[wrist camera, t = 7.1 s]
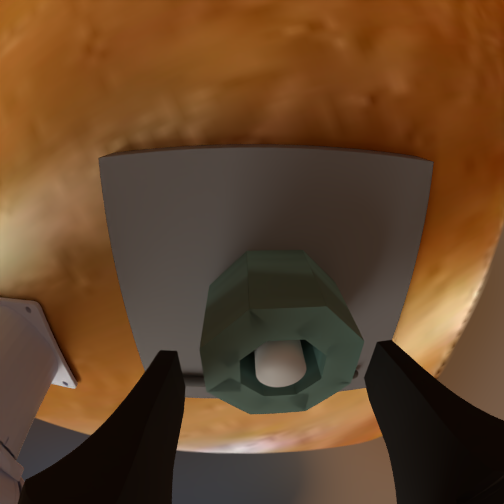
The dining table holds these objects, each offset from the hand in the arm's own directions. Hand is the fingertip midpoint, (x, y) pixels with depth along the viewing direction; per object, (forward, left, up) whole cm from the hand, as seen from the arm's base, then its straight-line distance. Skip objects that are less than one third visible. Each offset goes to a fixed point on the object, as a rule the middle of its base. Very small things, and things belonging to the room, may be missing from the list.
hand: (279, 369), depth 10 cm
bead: (0, 0, -4) cm, 4 cm away
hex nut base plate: (0, 0, -5) cm, 5 cm away
